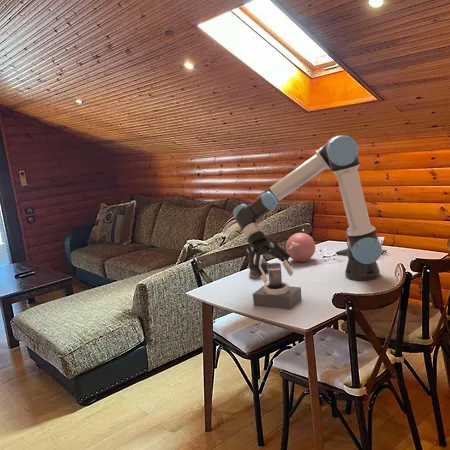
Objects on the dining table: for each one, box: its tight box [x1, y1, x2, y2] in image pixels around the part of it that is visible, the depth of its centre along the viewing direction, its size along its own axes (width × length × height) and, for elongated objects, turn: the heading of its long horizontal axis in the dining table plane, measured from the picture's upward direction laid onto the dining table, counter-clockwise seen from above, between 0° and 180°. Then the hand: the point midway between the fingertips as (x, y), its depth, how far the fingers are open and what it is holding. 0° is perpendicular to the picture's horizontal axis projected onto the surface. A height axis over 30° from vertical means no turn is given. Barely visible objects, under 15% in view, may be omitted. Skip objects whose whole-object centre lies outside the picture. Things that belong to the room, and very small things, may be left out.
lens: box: [267, 262, 283, 289], centre depth 181 cm, size 6×6×11 cm
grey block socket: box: [252, 281, 303, 310], centre depth 182 cm, size 16×12×7 cm
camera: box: [249, 253, 271, 278], centre depth 224 cm, size 9×16×10 cm, turn 175°
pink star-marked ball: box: [285, 232, 316, 263], centre depth 236 cm, size 15×20×15 cm
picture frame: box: [335, 247, 388, 257], centre depth 241 cm, size 16×2×21 cm
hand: (279, 278), depth 179 cm, fingers open, 12 cm apart
